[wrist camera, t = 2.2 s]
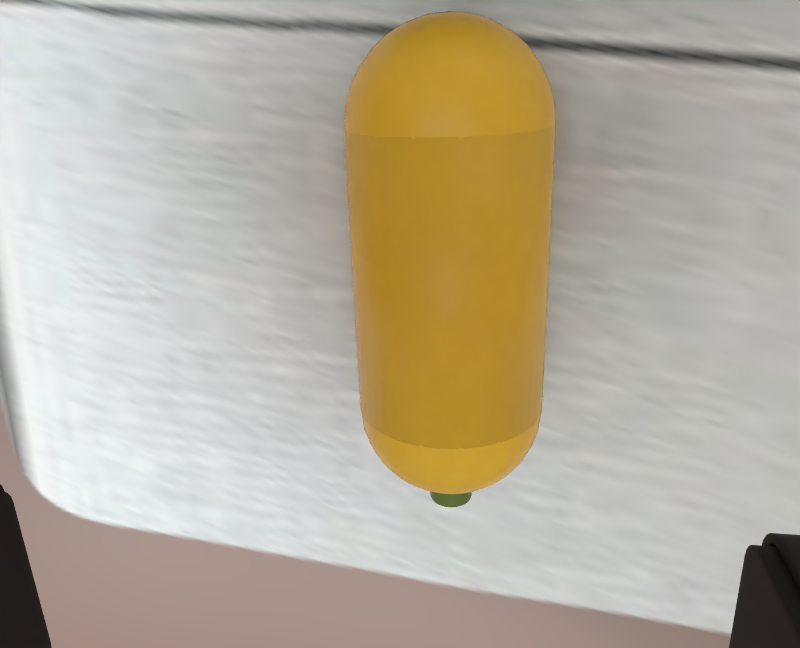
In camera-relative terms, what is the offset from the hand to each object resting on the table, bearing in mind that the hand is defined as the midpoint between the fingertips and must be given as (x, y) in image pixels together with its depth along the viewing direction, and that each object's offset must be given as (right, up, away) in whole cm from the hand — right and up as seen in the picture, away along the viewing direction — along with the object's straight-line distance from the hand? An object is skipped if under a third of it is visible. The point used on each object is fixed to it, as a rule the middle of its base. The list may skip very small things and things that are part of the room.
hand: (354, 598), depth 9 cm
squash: (+3, +6, +15) cm, 16 cm away
